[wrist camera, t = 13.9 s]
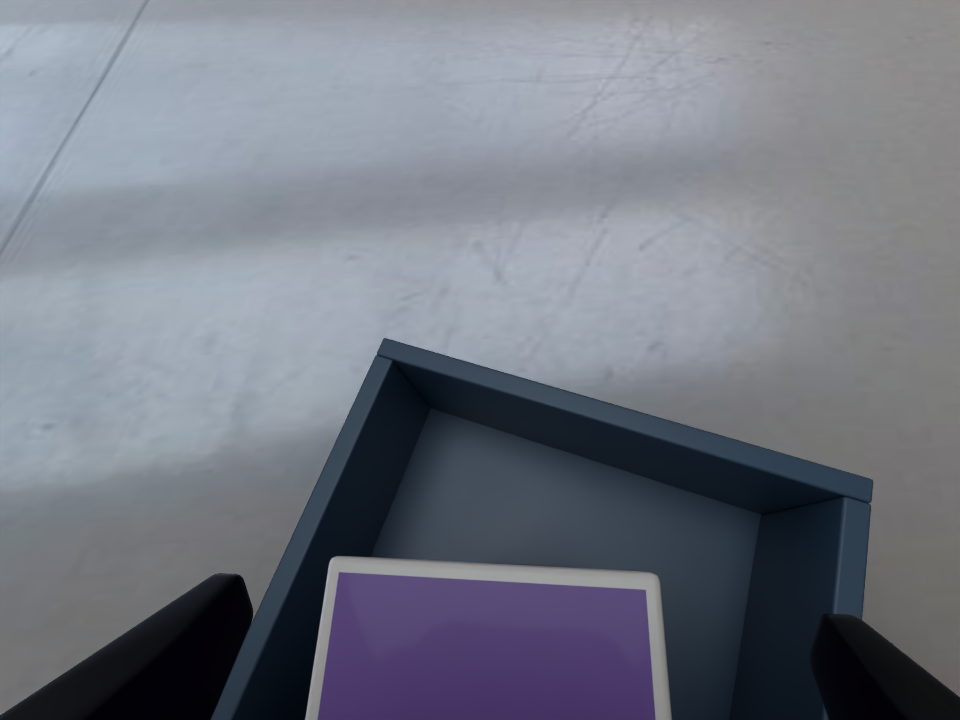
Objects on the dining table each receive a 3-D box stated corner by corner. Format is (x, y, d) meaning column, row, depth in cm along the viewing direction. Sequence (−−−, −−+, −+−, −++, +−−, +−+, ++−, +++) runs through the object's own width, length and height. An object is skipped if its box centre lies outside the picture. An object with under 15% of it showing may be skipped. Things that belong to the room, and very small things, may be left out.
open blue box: (700, 1012, 12) (807, 1330, 7) (272, 767, 16) (137, 866, 10) (774, 505, 17) (874, 478, 12) (426, 395, 20) (383, 336, 15)
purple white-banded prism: (583, 713, 15) (731, 1376, 3) (481, 704, 15) (221, 1237, 3) (579, 566, 16) (660, 573, 4) (487, 561, 17) (327, 555, 5)
